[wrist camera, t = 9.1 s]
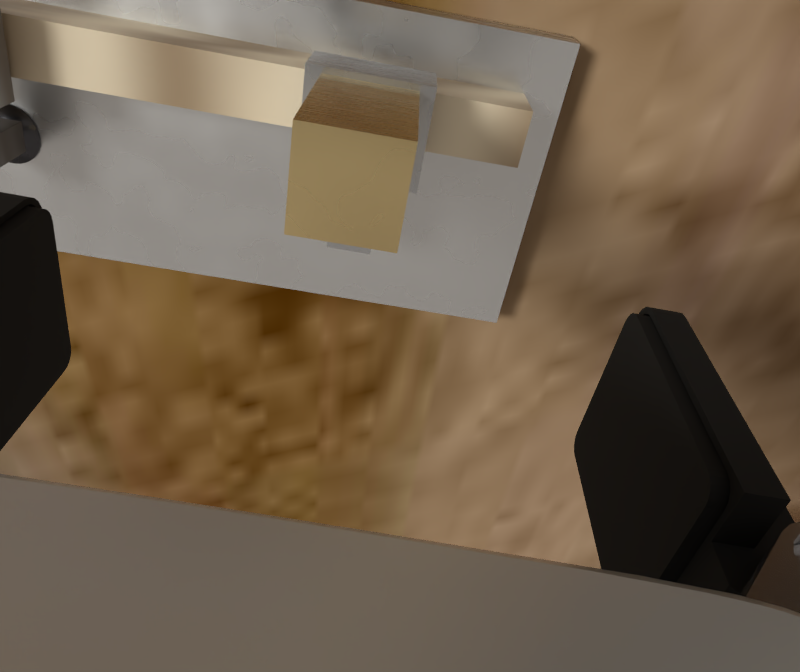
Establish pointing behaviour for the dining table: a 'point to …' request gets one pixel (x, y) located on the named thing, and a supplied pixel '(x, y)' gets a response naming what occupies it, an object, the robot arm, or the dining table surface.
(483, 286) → the bolt plate
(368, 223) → the block
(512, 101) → the sliding bolt bar
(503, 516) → the dining table surface
